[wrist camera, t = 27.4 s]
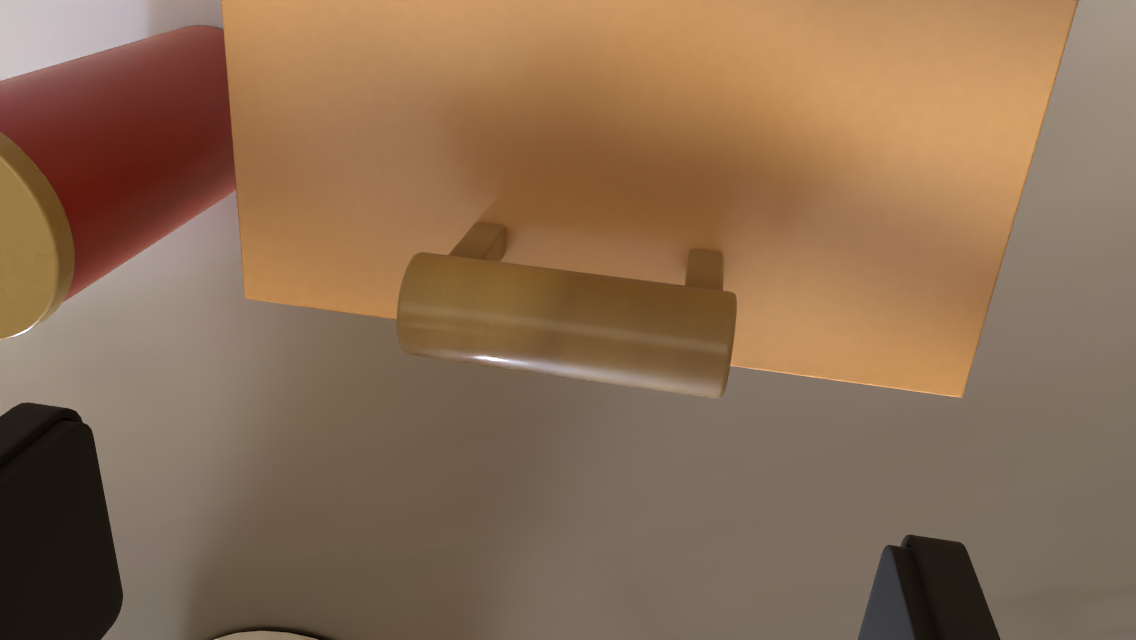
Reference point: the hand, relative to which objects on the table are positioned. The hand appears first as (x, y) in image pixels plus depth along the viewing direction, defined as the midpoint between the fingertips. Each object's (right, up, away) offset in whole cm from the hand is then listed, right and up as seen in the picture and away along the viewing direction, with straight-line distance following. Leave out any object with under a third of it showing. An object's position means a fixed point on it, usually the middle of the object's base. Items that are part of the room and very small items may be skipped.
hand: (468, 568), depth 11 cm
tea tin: (-10, +9, +17) cm, 22 cm away
